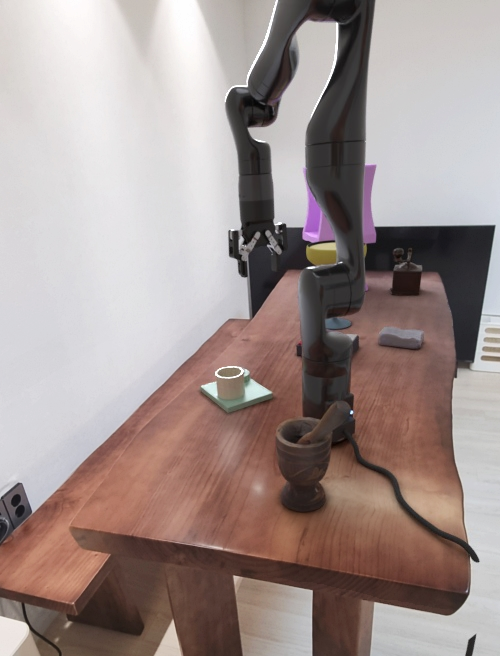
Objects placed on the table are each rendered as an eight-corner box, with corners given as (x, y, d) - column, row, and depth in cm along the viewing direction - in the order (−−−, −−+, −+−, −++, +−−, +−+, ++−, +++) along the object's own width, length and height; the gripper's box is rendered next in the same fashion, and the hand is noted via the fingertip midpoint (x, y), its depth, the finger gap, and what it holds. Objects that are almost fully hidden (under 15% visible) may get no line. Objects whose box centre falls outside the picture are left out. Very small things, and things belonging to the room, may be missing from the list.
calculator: (309, 330, 138) (359, 332, 131) (309, 343, 140) (359, 347, 133) (295, 342, 129) (348, 346, 123) (296, 357, 131) (348, 361, 124)
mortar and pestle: (353, 490, 78) (359, 383, 68) (343, 525, 71) (348, 410, 61) (286, 478, 81) (283, 375, 72) (271, 510, 74) (265, 400, 65)
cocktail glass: (319, 336, 143) (319, 252, 131) (298, 319, 158) (297, 243, 147) (372, 328, 147) (378, 246, 135) (347, 312, 162) (350, 237, 151)
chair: (303, 283, 201) (302, 167, 180) (352, 278, 204) (357, 163, 183) (318, 296, 182) (319, 168, 161) (372, 291, 185) (380, 164, 164)
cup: (250, 394, 108) (248, 373, 105) (225, 402, 105) (223, 380, 102) (236, 385, 113) (234, 364, 110) (212, 392, 110) (210, 371, 107)
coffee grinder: (390, 288, 187) (394, 241, 179) (419, 288, 184) (425, 241, 176) (388, 298, 174) (392, 249, 166) (419, 299, 171) (424, 249, 163)
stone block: (384, 340, 142) (376, 344, 133) (386, 324, 140) (378, 328, 132) (424, 346, 137) (418, 351, 128) (427, 330, 135) (422, 334, 127)
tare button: (245, 374, 115) (245, 369, 114) (236, 377, 114) (235, 371, 113) (240, 371, 117) (239, 365, 116) (231, 374, 116) (230, 368, 115)
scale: (273, 397, 109) (273, 386, 107) (228, 413, 103) (227, 401, 102) (242, 377, 120) (242, 366, 118) (200, 390, 114) (198, 379, 113)
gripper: (236, 201, 94) (241, 282, 101) (293, 195, 100) (294, 271, 107) (218, 199, 99) (225, 276, 107) (274, 193, 106) (276, 266, 113)
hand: (260, 273), depth 107 cm, fingers open, 8 cm apart
